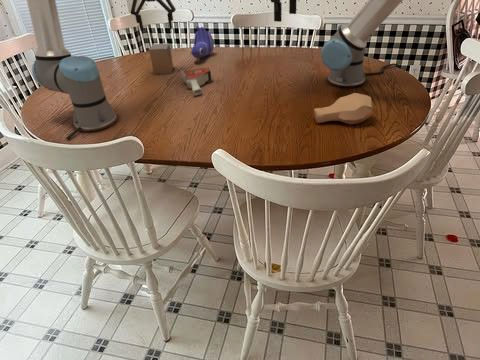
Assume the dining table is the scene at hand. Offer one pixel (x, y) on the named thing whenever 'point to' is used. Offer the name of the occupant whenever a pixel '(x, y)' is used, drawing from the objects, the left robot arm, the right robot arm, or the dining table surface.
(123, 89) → the dining table surface
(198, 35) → the toy
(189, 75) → the tape dispenser
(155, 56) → the block
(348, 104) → the squash
